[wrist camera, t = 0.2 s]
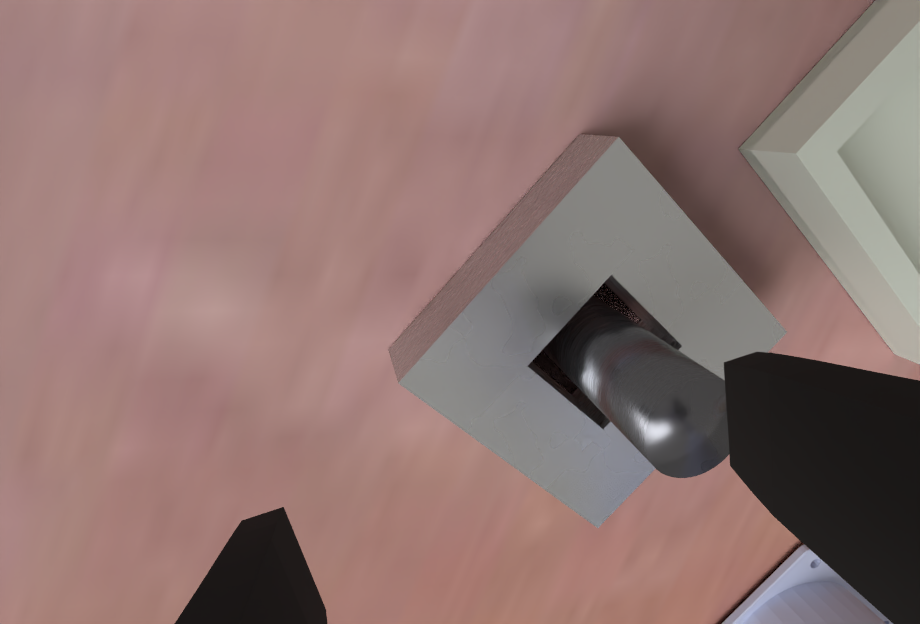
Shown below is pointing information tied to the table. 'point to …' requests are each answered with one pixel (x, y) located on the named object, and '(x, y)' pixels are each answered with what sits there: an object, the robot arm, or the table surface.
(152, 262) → the table surface
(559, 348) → the pin
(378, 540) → the table surface
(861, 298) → the tray
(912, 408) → the robot arm
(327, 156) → the table surface
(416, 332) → the block
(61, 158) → the table surface
